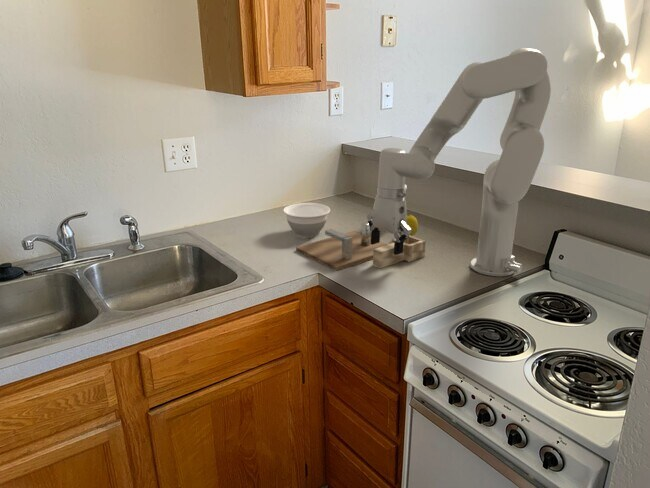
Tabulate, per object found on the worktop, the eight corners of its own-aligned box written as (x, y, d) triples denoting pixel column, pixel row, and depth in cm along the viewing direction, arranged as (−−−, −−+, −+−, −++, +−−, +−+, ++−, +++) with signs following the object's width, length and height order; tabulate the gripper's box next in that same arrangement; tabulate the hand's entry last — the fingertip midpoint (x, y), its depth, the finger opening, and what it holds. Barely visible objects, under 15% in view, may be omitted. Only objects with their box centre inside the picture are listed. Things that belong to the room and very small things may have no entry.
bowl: (278, 228, 189) (277, 205, 186) (321, 223, 194) (321, 200, 190) (291, 243, 175) (290, 218, 172) (336, 238, 179) (337, 213, 176)
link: (407, 249, 169) (408, 234, 167) (424, 256, 164) (425, 241, 162) (368, 262, 159) (368, 247, 158) (384, 270, 154) (385, 254, 152)
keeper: (352, 258, 160) (352, 237, 157) (346, 260, 158) (346, 239, 156) (331, 248, 167) (331, 228, 165) (325, 250, 166) (325, 230, 163)
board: (395, 251, 168) (395, 247, 168) (336, 270, 154) (336, 266, 154) (353, 234, 183) (353, 230, 182) (296, 250, 169) (296, 247, 168)
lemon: (416, 234, 182) (418, 212, 179) (417, 240, 177) (419, 217, 174) (400, 234, 183) (401, 211, 180) (400, 240, 177) (402, 217, 174)
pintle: (371, 244, 170) (372, 223, 168) (365, 246, 168) (365, 225, 166) (365, 242, 172) (366, 221, 170) (359, 244, 170) (359, 223, 168)
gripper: (422, 197, 148) (416, 255, 154) (378, 184, 160) (375, 237, 167) (403, 202, 144) (398, 260, 150) (360, 187, 156) (357, 242, 162)
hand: (386, 248), depth 158 cm, fingers open, 9 cm apart
